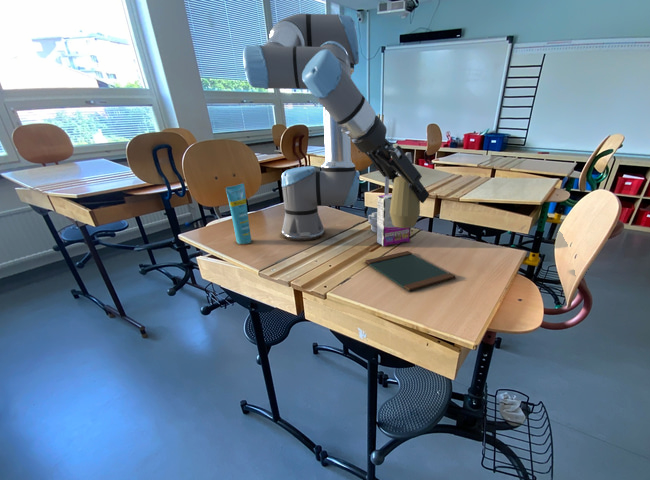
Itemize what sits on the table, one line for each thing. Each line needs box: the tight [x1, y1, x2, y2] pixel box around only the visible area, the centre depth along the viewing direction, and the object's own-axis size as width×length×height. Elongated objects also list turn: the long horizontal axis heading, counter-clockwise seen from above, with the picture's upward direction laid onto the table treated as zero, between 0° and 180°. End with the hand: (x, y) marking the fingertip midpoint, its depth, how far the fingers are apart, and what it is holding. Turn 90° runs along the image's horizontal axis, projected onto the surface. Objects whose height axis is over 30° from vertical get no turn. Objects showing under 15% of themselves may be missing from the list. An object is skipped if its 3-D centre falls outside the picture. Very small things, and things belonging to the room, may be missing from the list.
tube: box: [225, 182, 252, 245], centre depth 113 cm, size 7×5×19 cm, turn 157°
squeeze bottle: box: [390, 152, 421, 229], centre depth 86 cm, size 8×8×18 cm
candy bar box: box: [376, 193, 412, 248], centre depth 115 cm, size 11×5×16 cm, turn 118°
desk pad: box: [364, 250, 456, 293], centre depth 98 cm, size 22×16×1 cm
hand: (416, 195), depth 88 cm, fingers closed on squeeze bottle, 6 cm apart
